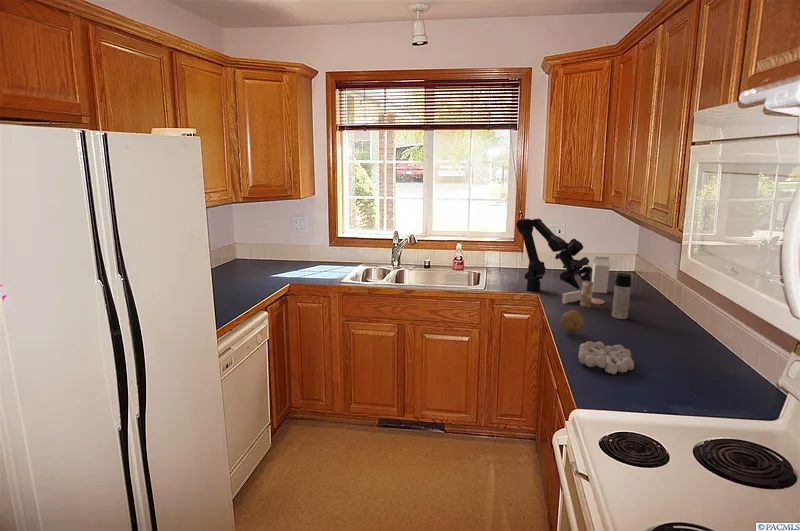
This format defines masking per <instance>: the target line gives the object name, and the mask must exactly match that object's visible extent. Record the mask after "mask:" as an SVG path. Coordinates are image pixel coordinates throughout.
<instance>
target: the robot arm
mask: <svg viewBox="0 0 800 531" xmlns="http://www.w3.org/2000/svg"><path fill="white" fill-rule="evenodd" d="M515 225H516V228H517V230H518V231H517V232H519V234H520V235H521V236H522V238H523V242H524V246H525V249H526V253H527V254H526V255H527V258H528V261H529V263H528V269H527V270H528V271H526V273H524V280H525V279H526V280H527V282H526V289H525V290H526V292H528V291H529V292H540V290H541V281H540V280H541V279H543V278H544V275H545V274H546V269H547V268H546V266H545V262H544V261H541V260H540V259H539V255H538V252H537V248H536V244H535V241H534V240H535V239H534V236H533V231H534V229H535V230H536V231H537V232H538V233H539V234H540V235H541V236H542V238H544V240H546V241H547V245H548V247H549V249H550V250H551V251H552V252H555V253H556V254H555V257H554V259H555V260H560V261H561V263H562V265H563V266H562V268H563V269H565V270H564V271H562V272H561V273H560V274H559V277H558V278H559V279H560V281H561V282H565V283H567V284H569V285H571V286H572V287H574V288H575V289H577V290H579V289H580V286H579V283H578V281H577V280H576V278H575V276H579V277H580V279H581V280H582V281H592V278H591V274H592V272H593V267H591V266H589V263H590V259H588V257H587V256H585V257H581V259H575V258H574V257H575V256H576V255H578V254H579V253H580V252H581V251H582V250H583V249H584V245H583V244H582V242H580V241H579V240H577V239H576V238H572V239H571V240H570V241H569V242H566V241H565V240H564V239H563V238H561V237H560V236H558V235H556V234H555V233H554V232H553V231H552V230H551V229H550V228H549V227H548V226H547V225H546V224H545V223H544V222H543V220H542V219H541V218H533V219H531V218H520V219H518V220H517V221H516V224H515ZM557 252H559V253H557Z"/></svg>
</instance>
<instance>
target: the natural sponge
mask: <svg viewBox="0 0 800 531" xmlns="http://www.w3.org/2000/svg"><path fill="white" fill-rule="evenodd" d="M583 325H584V317H583V315H582V314H581V313H580V312H579V311H577V310H575V309H574V310H568V311H566V312H565V313H563V314H562V315H561V318H560V326H561V328H562V329H563V330H564V331H566V332H567V333H568V334H570V335H573V334H574V335H575V334H577V333H578V332H579V331H580V330H581V329H582V327H583Z"/></svg>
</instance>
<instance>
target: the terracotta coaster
mask: <svg viewBox="0 0 800 531" xmlns="http://www.w3.org/2000/svg"><path fill="white" fill-rule="evenodd" d="M591 303H593V304H592V305H604V304H605V303H606V300H603V299H601V298H595V297H592V301H591ZM603 303H604V304H603Z"/></svg>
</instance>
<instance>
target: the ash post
mask: <svg viewBox="0 0 800 531" xmlns="http://www.w3.org/2000/svg"><path fill="white" fill-rule="evenodd" d="M580 291H581V299H580V303H579V304H580V305H579V306H581V307H583V308H591V307H592V304H591V301H592V298H593V292H592V291H593V282H592V280H591V281H583V280H582V283H581V290H580Z"/></svg>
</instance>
